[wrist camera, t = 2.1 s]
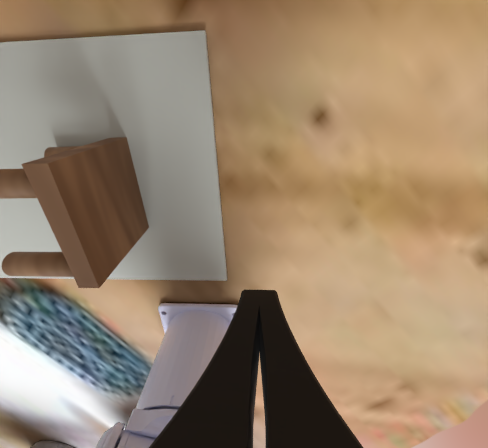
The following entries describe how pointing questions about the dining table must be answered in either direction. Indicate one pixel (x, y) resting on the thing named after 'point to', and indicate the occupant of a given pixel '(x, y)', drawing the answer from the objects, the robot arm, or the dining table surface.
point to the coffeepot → (50, 445)
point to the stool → (80, 210)
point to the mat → (120, 125)
